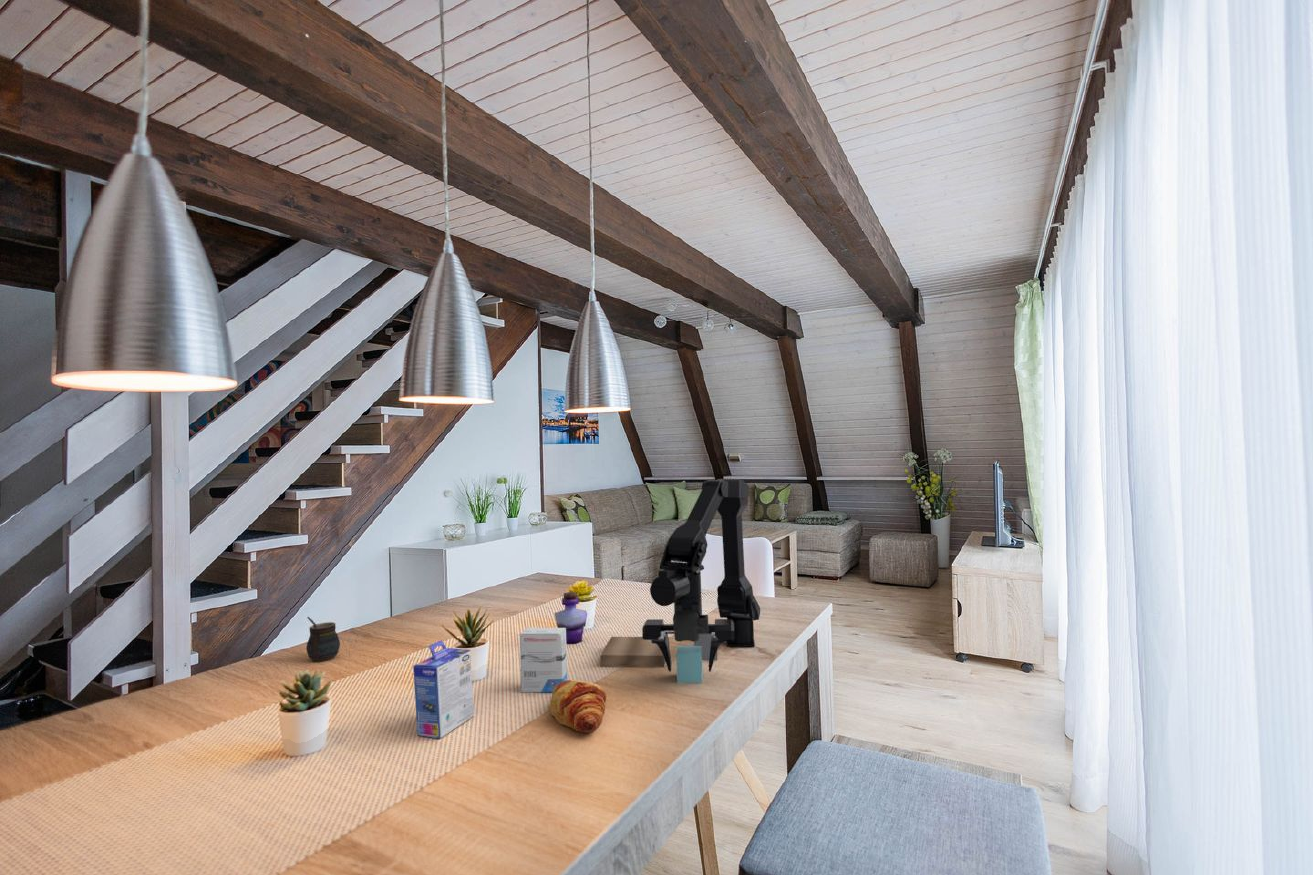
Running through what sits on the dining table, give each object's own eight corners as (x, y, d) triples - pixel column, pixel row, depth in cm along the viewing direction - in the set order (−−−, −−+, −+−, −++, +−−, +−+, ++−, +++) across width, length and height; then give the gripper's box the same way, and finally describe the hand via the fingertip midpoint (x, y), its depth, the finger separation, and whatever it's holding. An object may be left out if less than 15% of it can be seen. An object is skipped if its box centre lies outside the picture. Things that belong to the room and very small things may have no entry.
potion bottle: (592, 636, 168) (591, 589, 169) (583, 646, 160) (581, 597, 160) (560, 635, 170) (559, 588, 170) (549, 645, 161) (547, 596, 162)
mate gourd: (331, 663, 153) (329, 620, 153) (299, 664, 153) (297, 621, 153) (346, 653, 160) (344, 612, 160) (315, 654, 160) (313, 613, 160)
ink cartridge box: (449, 713, 122) (447, 634, 122) (475, 716, 120) (473, 636, 120) (413, 735, 112) (411, 650, 113) (440, 739, 111) (438, 653, 111)
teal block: (702, 674, 138) (701, 645, 138) (701, 683, 133) (700, 653, 133) (678, 674, 139) (677, 645, 139) (677, 683, 134) (676, 653, 134)
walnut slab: (669, 649, 157) (669, 636, 157) (664, 669, 143) (663, 655, 144) (611, 649, 159) (611, 636, 159) (600, 668, 145) (600, 655, 145)
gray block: (717, 653, 152) (716, 627, 152) (717, 660, 147) (716, 633, 147) (695, 653, 152) (695, 627, 152) (694, 660, 147) (694, 633, 147)
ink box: (568, 684, 135) (566, 626, 135) (562, 693, 130) (561, 633, 130) (527, 683, 136) (526, 626, 136) (520, 692, 131) (518, 633, 131)
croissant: (551, 716, 128) (530, 682, 126) (594, 684, 131) (574, 651, 130) (578, 761, 108) (554, 722, 107) (629, 722, 111) (606, 684, 110)
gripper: (637, 605, 129) (640, 684, 129) (733, 604, 127) (736, 685, 127) (644, 592, 140) (646, 665, 140) (732, 591, 138) (735, 666, 138)
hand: (689, 670), depth 136 cm, fingers open, 8 cm apart
